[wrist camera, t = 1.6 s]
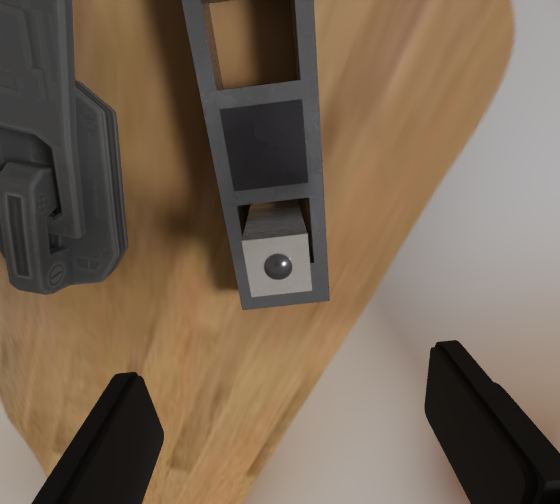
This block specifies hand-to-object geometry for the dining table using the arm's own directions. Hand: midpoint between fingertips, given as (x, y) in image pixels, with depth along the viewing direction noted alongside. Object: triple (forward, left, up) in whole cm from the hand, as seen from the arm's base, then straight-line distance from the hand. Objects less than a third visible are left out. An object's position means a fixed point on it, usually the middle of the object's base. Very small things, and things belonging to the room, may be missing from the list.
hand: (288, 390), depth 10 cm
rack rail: (-6, 0, -16) cm, 17 cm away
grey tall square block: (0, 0, -16) cm, 16 cm away
